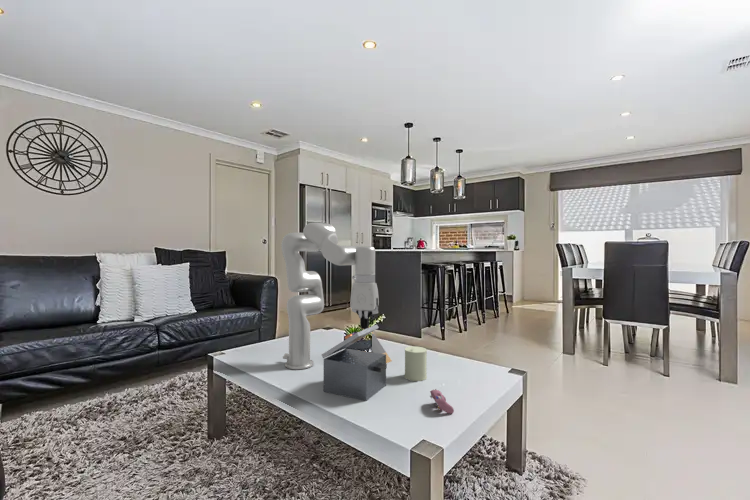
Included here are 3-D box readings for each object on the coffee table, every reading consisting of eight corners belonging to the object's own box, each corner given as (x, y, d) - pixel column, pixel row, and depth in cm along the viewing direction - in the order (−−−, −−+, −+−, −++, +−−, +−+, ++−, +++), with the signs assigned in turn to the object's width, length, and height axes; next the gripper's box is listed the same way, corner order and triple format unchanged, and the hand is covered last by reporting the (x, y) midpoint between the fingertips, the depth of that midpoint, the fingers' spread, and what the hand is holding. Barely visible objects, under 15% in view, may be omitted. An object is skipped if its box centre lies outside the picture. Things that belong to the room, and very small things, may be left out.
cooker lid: (323, 358, 133) (319, 350, 134) (345, 348, 148) (342, 341, 148) (358, 336, 126) (354, 328, 127) (378, 327, 141) (375, 320, 142)
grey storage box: (323, 391, 133) (323, 359, 133) (346, 377, 147) (346, 348, 147) (373, 402, 124) (373, 367, 124) (392, 386, 138) (392, 355, 138)
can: (399, 377, 148) (400, 348, 148) (413, 371, 155) (413, 344, 155) (418, 383, 142) (418, 352, 142) (431, 377, 149) (431, 348, 149)
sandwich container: (381, 365, 164) (381, 332, 164) (356, 359, 174) (356, 327, 174) (392, 361, 170) (393, 329, 170) (368, 355, 180) (368, 325, 180)
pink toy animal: (434, 406, 125) (425, 388, 124) (446, 400, 125) (437, 382, 125) (443, 419, 115) (433, 400, 114) (455, 412, 115) (446, 393, 115)
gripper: (342, 279, 135) (342, 328, 135) (378, 281, 128) (378, 332, 128) (352, 277, 141) (352, 324, 141) (387, 279, 134) (387, 328, 135)
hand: (364, 328), depth 135 cm, fingers closed
